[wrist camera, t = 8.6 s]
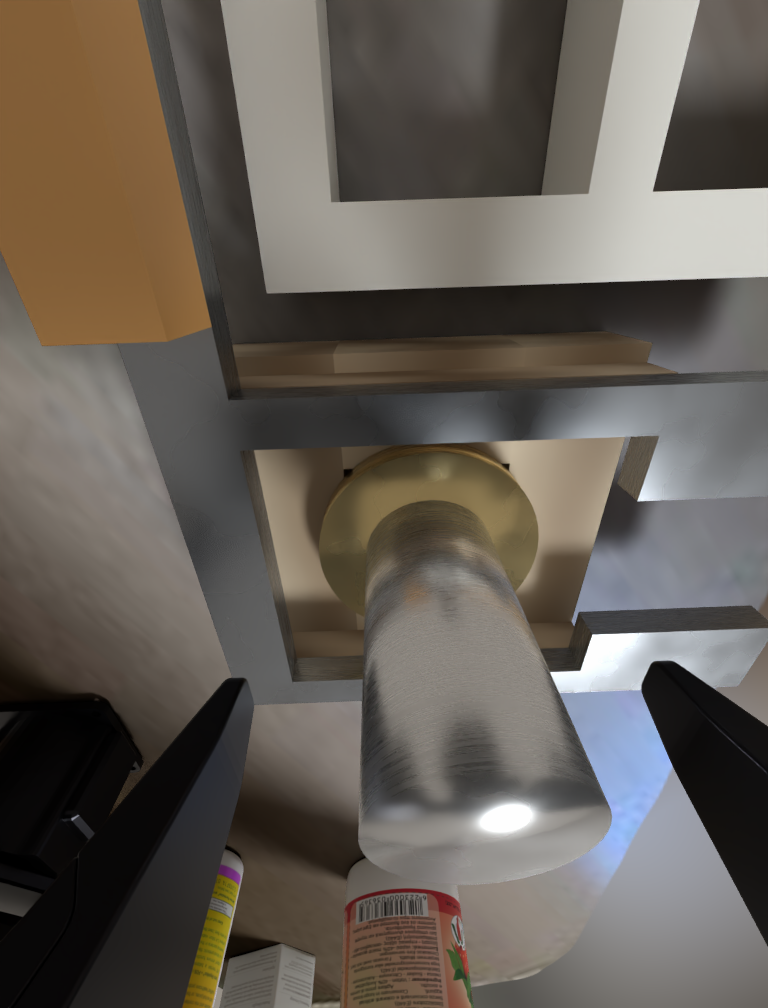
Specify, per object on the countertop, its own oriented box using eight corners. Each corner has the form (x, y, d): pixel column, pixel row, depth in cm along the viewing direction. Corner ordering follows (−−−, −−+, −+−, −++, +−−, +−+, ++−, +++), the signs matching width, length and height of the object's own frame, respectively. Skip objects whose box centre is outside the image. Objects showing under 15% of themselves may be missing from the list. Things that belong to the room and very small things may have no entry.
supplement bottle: (165, 836, 30) (43, 1163, 19) (252, 846, 31) (186, 1159, 20) (158, 870, 33) (50, 1168, 22) (237, 878, 35) (173, 1164, 23)
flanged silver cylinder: (337, 570, 18) (295, 919, 8) (320, 416, 14) (209, 714, 5) (495, 564, 18) (637, 906, 8) (517, 409, 14) (812, 691, 5)
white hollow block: (289, 289, 12) (266, 293, 9) (219, -250, 8) (137, -526, 5) (813, 271, 12) (933, 271, 10) (1055, -273, 8) (1408, -555, 5)
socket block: (289, 614, 19) (272, 686, 16) (234, 344, 13) (186, 368, 10) (542, 604, 19) (577, 674, 16) (605, 331, 13) (684, 351, 10)
